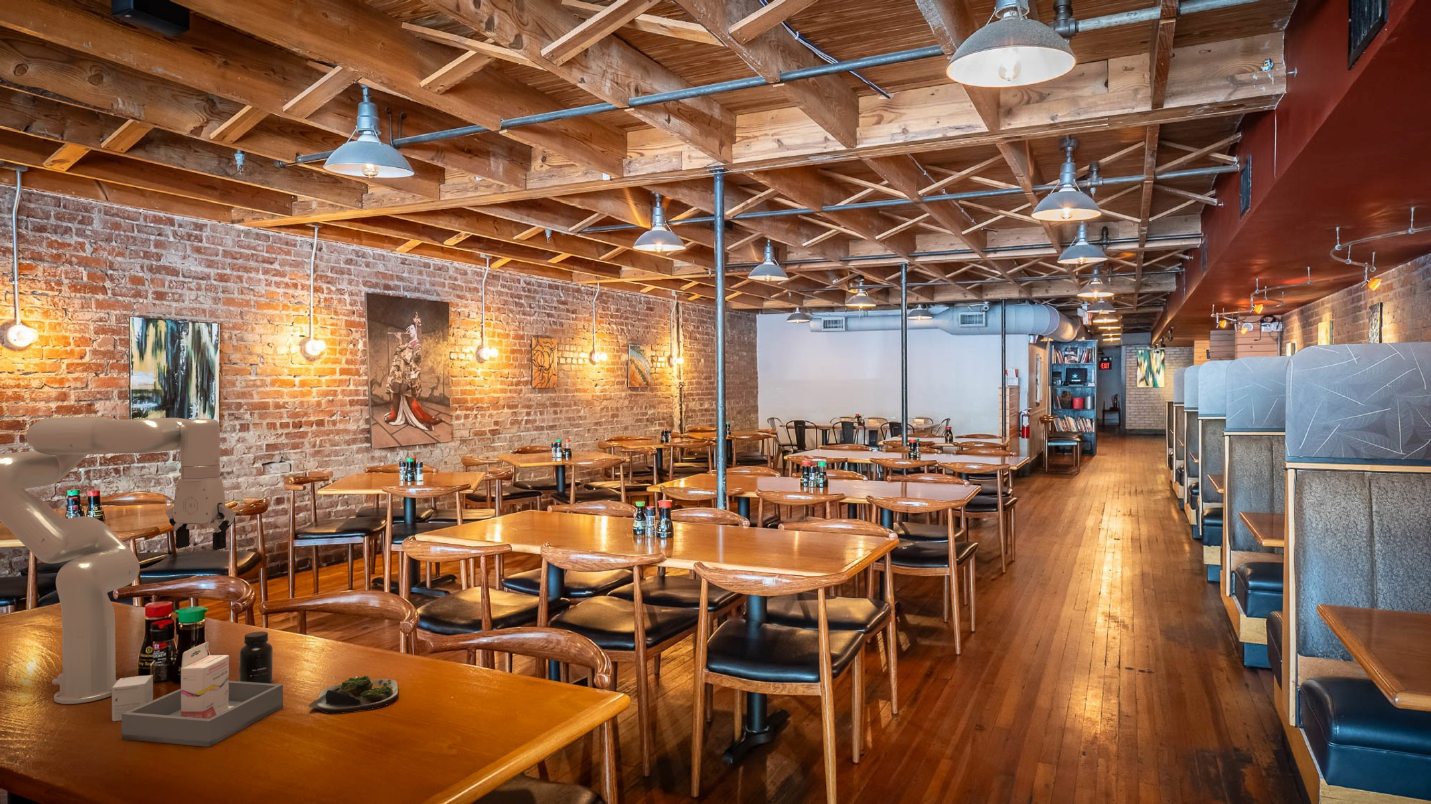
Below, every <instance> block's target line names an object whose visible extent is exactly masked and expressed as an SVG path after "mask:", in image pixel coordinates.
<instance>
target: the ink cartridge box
mask: <svg viewBox="0 0 1431 804" xmlns="http://www.w3.org/2000/svg"><path fill="white" fill-rule="evenodd" d="M209 646H210V645H209V641H206V642H204V643H201V644H199V645H197V646H195V647H192V648H190V649H188V650H186V651H184V652H183V653H182V658H181V668H180V689H181V717H193V718H206V719H209V718H212V717H214V716H216V715H218V714H220V713H222V712H224V711H226V710H228V709H229V704H228V702H229V681H230V679H229V677H230V665H229V664H230V655H228V654H223V655H222V654H220V655H219V654H215V655H213V654H212V655H211V654H209V655H208V653H209ZM196 652H198V653H197V654H195V653H196ZM193 654H195V655H193ZM192 655H193V656H192Z"/></svg>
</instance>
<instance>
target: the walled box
mask: <svg viewBox="0 0 1431 804" xmlns="http://www.w3.org/2000/svg"><path fill="white" fill-rule="evenodd" d="M228 704H229V709H228V710H226V711H224V712H222V713H220V714H218V715H216V716H214V717H212V718H209V719H206V718H193V717H181V688H179V689H177V690H175V691H171V692H169V693H168V694H164V695H162V696H160V697H158V698H155V699H153V701H151V702H148V703H146V704H144V705H141V706H139V707H137V708H134V709H132V710H130V711H127V712H125V713H123V714H122V720H121V739H122V740H127V741H128V740H129V741H138V742H139V741H140V742H151V743H162V744H163V743H164V744H172V745H173V744H175V745H183V746H184V745H185V746H196V747H197V746H198V747H205V748H210V747H212V746H214V745H216V744H218V743H219V742H221V741H223V740H225V739H227V738H229V737H230V736H232V735H234V734H236V733H238V732H241V731H242V730H244V729H246V728H247V727H249V726H251V725H253V724H256V723H257V722H260V720H263V719H264V718H266V717H268V716H270V715H272V714H274V713H276V712H277V711H279V710H281V709H282V708H284V684H283V683H282V684H280V683H271V684H268V683H254V682H240V681H239V680H238V681H237V680H229V702H228Z"/></svg>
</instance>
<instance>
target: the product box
mask: <svg viewBox="0 0 1431 804" xmlns="http://www.w3.org/2000/svg"><path fill="white" fill-rule="evenodd" d="M117 680H118V682H117V683H116V684H115V685H114V686H113V687H112V696H111V721H112V722H116V721H117V722H119V721H122V714H123V713H125V712H127V711H130V710H132V709H134V708H137V707H139V706H141V705H144V704H146V703H148V702H151V701H153V700H154V675H153V674H151V675H150V674H148V675H138V676H137V675H136V676H130V677H120V678H119V679H117Z"/></svg>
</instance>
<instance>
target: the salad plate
mask: <svg viewBox="0 0 1431 804" xmlns="http://www.w3.org/2000/svg"><path fill="white" fill-rule="evenodd" d="M373 686H374V687H375V686H383V687H381V688H380V687H376V688H374V689H372V687H373ZM398 686H399V684H398V682H397V681H396V680H395V679H390V678H377V679H373V680H372V679H370V677H369V676H368V675H363V676H359V675H354V676H353V677H349V678H348V679H345V680H344V681H343V682H342V683H339V684H335V685H331V686H329V687H325V688H324V689H322V690H321V692H320V693H319V696H318V699H314V700H313V701H312V702H311V703H309V704H308V707H309V708H313V709H316V710H319V711H320V712H322V713H325V712H327V713H326V714H330V713H340V714H343V713H342V712H351V713H355V712H354V711H359V710H367V711H369V710H368V709H372V708H377V709H379V708H378V707H380V708H382V707H381V706H384V705H386V704H388V705H390V704H392V703H393V702H394V701H395V700H396V699H397V697H398V695H399V687H398ZM392 701H393V702H392ZM391 702H392V703H391ZM389 703H390V704H389ZM386 706H387V705H386ZM384 707H385V706H384ZM372 710H373V709H372ZM359 712H360V711H359Z"/></svg>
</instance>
